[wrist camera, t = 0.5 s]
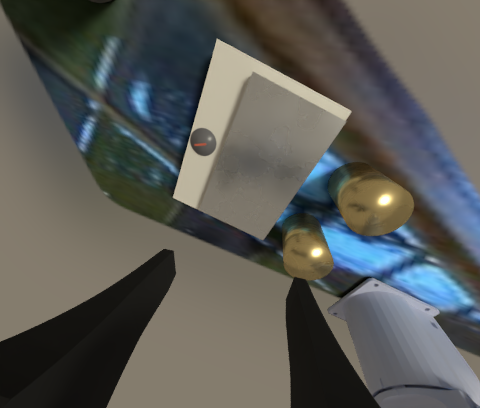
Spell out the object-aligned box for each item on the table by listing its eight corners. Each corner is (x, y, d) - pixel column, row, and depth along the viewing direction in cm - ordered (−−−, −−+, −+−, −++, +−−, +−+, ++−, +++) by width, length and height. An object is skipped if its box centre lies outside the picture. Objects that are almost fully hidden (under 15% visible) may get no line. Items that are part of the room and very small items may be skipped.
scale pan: (343, 120, 12) (346, 121, 12) (263, 236, 18) (263, 240, 18) (253, 72, 12) (252, 71, 11) (201, 207, 18) (199, 210, 17)
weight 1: (328, 223, 19) (344, 259, 15) (306, 248, 21) (314, 286, 17) (294, 207, 19) (300, 238, 14) (275, 233, 21) (275, 268, 16)
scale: (342, 110, 14) (352, 111, 12) (263, 228, 21) (262, 241, 19) (224, 47, 13) (216, 37, 12) (181, 189, 20) (172, 198, 18)
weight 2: (387, 175, 16) (430, 202, 11) (354, 209, 18) (379, 244, 13) (347, 154, 15) (375, 173, 11) (318, 191, 18) (332, 220, 13)
